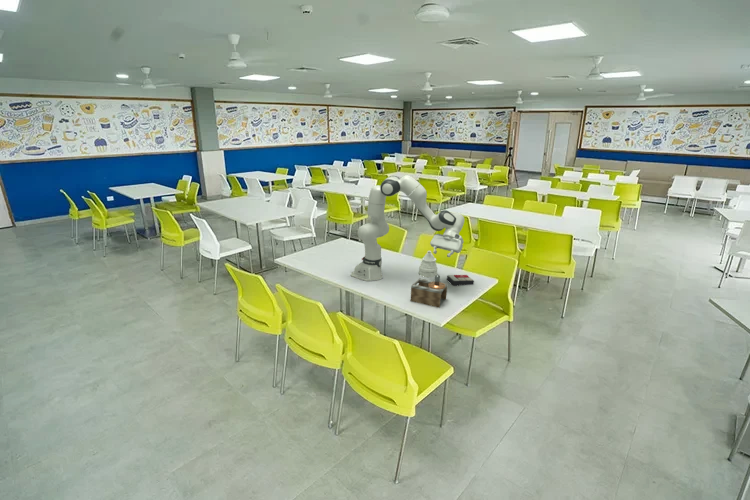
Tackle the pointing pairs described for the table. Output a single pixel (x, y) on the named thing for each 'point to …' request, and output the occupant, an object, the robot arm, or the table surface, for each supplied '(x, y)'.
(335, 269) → the table surface
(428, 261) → the white ridged cone
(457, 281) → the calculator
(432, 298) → the wood and metal frame
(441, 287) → the spinning top
